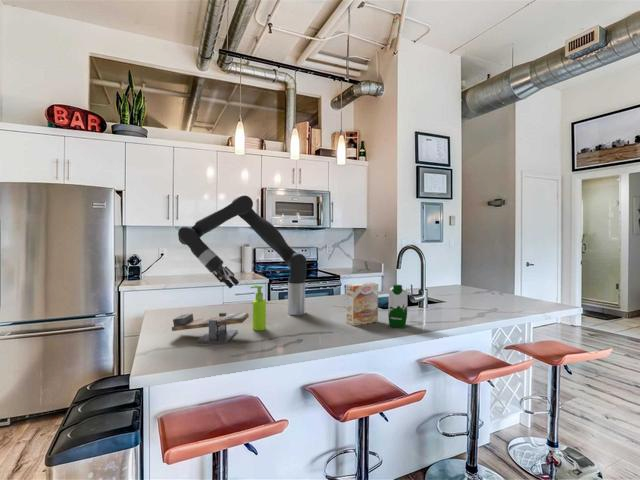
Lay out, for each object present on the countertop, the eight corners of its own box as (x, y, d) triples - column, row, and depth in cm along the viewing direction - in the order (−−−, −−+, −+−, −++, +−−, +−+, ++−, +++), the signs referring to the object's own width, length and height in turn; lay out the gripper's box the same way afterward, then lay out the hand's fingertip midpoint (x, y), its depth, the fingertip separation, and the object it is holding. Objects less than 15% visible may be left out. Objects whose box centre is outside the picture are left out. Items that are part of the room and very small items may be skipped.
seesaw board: (248, 316, 152) (247, 306, 152) (242, 322, 142) (240, 311, 142) (183, 324, 154) (181, 314, 154) (172, 331, 144) (170, 320, 144)
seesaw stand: (237, 332, 156) (237, 312, 156) (225, 343, 140) (225, 321, 140) (211, 331, 157) (211, 311, 157) (196, 343, 141) (196, 321, 141)
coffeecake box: (353, 326, 167) (353, 285, 166) (345, 322, 173) (345, 283, 172) (378, 322, 174) (378, 283, 173) (370, 319, 180) (370, 281, 179)
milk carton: (387, 327, 165) (387, 285, 165) (389, 322, 174) (390, 282, 173) (406, 328, 163) (406, 286, 162) (407, 324, 171) (408, 283, 170)
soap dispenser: (251, 327, 164) (251, 285, 163) (266, 326, 165) (266, 284, 164) (249, 330, 158) (249, 287, 158) (265, 330, 159) (265, 287, 158)
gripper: (210, 256, 155) (235, 282, 154) (221, 253, 169) (244, 277, 168) (199, 267, 155) (224, 293, 155) (211, 264, 169) (234, 288, 169)
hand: (234, 285), depth 162 cm, fingers open, 8 cm apart
